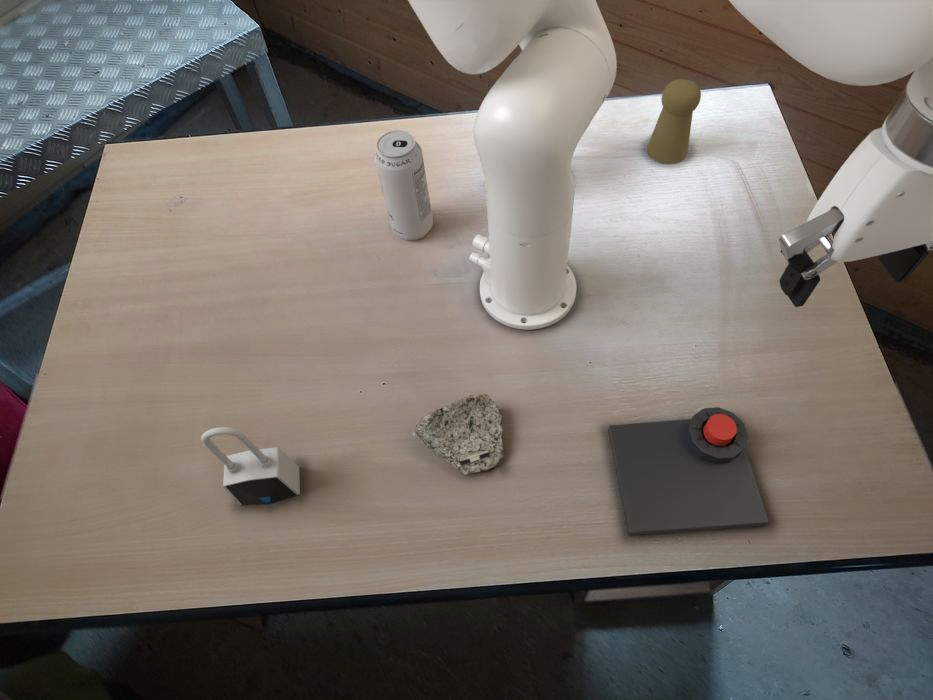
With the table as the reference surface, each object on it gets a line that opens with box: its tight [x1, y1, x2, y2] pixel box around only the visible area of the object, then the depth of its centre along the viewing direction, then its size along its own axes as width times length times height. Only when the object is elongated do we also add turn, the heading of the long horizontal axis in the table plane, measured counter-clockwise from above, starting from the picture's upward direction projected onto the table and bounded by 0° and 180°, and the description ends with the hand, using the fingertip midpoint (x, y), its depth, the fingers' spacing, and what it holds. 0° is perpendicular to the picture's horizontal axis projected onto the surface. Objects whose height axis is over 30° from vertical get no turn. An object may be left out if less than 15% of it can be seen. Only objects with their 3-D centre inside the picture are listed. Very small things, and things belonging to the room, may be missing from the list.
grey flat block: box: [607, 406, 770, 537], centre depth 66 cm, size 14×12×3 cm
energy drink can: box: [373, 129, 434, 241], centre depth 83 cm, size 6×6×15 cm
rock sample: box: [412, 392, 506, 476], centre depth 69 cm, size 10×8×9 cm
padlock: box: [200, 426, 301, 506], centre depth 63 cm, size 7×4×15 cm, turn 99°
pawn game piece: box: [646, 78, 702, 165], centre depth 89 cm, size 6×6×11 cm
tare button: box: [703, 414, 737, 446], centre depth 66 cm, size 3×3×2 cm
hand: (840, 282), depth 56 cm, fingers open, 9 cm apart
